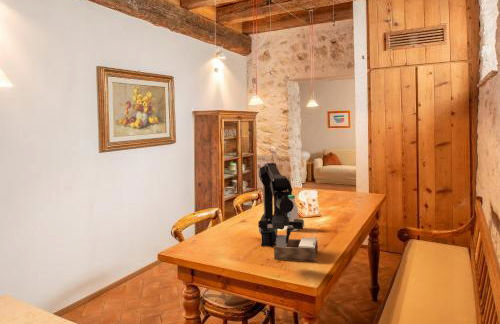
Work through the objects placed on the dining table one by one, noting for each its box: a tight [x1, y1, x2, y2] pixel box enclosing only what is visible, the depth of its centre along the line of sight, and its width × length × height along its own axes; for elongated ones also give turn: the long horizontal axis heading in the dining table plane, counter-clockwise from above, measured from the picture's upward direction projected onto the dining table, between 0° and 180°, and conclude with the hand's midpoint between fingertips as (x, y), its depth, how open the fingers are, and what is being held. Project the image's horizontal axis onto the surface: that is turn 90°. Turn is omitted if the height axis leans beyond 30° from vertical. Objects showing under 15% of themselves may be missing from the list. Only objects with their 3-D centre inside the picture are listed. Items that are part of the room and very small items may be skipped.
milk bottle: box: [284, 194, 299, 232], centre depth 210 cm, size 8×8×20 cm
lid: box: [299, 236, 318, 248], centre depth 170 cm, size 7×12×2 cm, turn 165°
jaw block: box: [275, 234, 287, 247], centre depth 158 cm, size 4×4×4 cm
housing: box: [273, 238, 319, 263], centre depth 172 cm, size 18×12×6 cm, turn 75°
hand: (281, 243), depth 158 cm, fingers closed on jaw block, 4 cm apart
